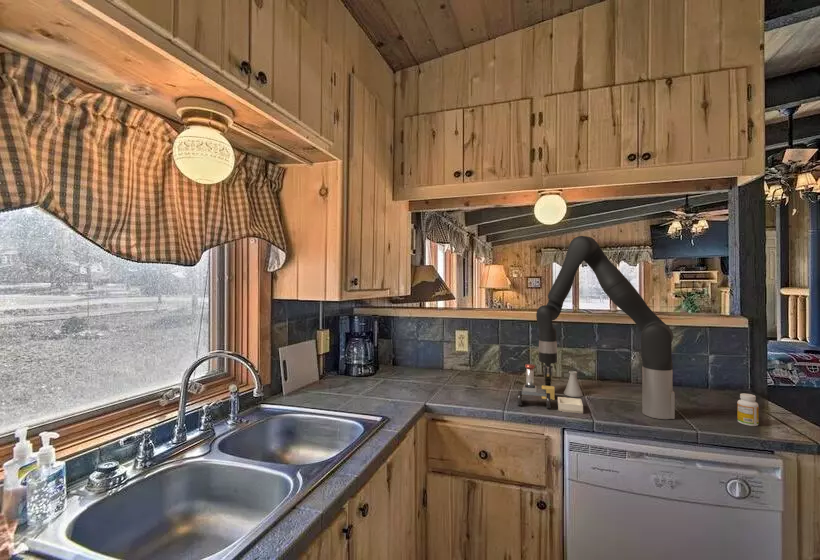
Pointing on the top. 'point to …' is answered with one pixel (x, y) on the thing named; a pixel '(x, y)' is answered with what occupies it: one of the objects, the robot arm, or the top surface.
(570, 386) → the flask
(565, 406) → the tray
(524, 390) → the trolley
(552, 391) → the block
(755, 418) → the supplement bottle
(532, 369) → the pin
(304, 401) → the top surface
